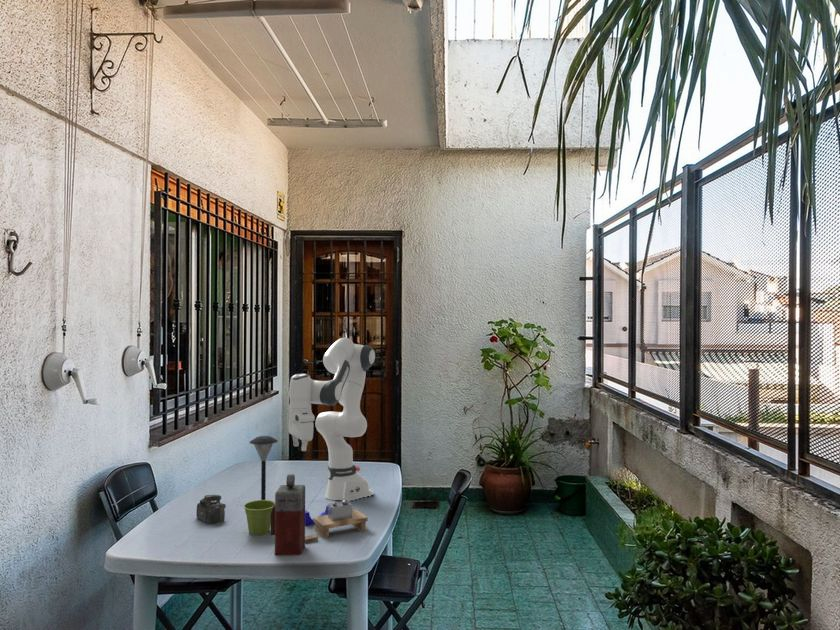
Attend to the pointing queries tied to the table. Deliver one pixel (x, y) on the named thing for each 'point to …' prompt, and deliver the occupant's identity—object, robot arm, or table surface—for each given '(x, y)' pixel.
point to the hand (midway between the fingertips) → (299, 448)
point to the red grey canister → (289, 518)
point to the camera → (211, 509)
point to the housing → (339, 510)
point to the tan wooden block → (311, 538)
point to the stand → (339, 523)
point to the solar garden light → (263, 457)
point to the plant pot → (259, 516)
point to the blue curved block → (310, 521)
